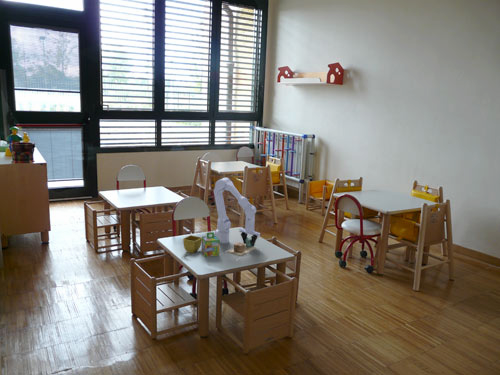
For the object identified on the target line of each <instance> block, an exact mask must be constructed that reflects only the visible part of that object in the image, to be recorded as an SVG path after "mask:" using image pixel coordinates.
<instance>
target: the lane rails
mask: <svg viewBox="0 0 500 375" xmlns="http://www.w3.org/2000/svg"><path fill="white" fill-rule="evenodd" d="M233 249H234V246H233V247H232V248H229V249H227V250H224V251H223V252H221V253H219V255H218V256H222V255H224V254H225V253H229V252H228V250H233ZM257 250H260V248H259V247H256V248H255V249H253V250H251V251H249V252H248V253H246V254H244V255H242V256H240V257H238V258H236V259H235V261H236V262H237V261H239V260H240V259H243V258H244V257H245V256H248V255H250V254H251V253H253V252H255V251H257Z"/></svg>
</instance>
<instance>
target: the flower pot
mask: <svg viewBox="0 0 500 375" xmlns="http://www.w3.org/2000/svg"><path fill="white" fill-rule="evenodd" d="M182 242H183V243H182V244H183V248H184V250H185V252H187V253H190V254H195V253H197V252H198V251H199V250H200V249H201V248H200V247H202V236H197V235H192V234H190V235H188V236H185V237H184V238H182Z"/></svg>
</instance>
